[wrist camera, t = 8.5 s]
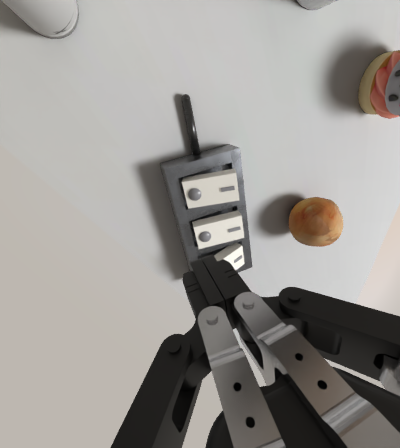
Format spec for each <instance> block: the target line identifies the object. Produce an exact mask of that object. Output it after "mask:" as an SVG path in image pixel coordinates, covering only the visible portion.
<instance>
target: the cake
mask: <svg viewBox="0 0 400 448" xmlns="http://www.w3.org/2000/svg"><path fill="white" fill-rule="evenodd" d="M358 100H359V104H360V107H361V108H362V110H363V111H364V112H366V113H368V114H378V115H380V116H381V117H385V118H388V119H390V118H395V117H399V116H400V50H398V51H392V52H387V53H384V54H382V55H379V56H378V57H377V58H375V59H374V60H373V61H372V62H371V63H370V65H369V66H368V68H367V69H366V70H365V72H364V75H363V77H362V79H361V82H360V86H359V90H358Z"/></svg>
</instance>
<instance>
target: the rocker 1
mask: <svg viewBox="0 0 400 448" xmlns="http://www.w3.org/2000/svg"><path fill="white" fill-rule="evenodd" d="M182 185H183V189H184V193H185V197H186V202H187V206H188V209H189V208H195V207H202V206H208V205H214V204H220V203H227V202H233V201H239V192H238V183H237V175H236V170H235V169H229V170H224V171H218V172H212V173H207V174H201V175H195V176H190V177H184V178H183V180H182Z"/></svg>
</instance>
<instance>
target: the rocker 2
mask: <svg viewBox="0 0 400 448" xmlns="http://www.w3.org/2000/svg"><path fill="white" fill-rule="evenodd" d="M214 257H215V258H216V260H217V261H220V260H222V259H224V260H226V261H228V262H230V263H231V265H232V266H233V267H234V269H235V270H237V269H238V268H240V267H241V266H242V265H244V264H245V263H244V255H243V247H242V245H240V244H238V243H234V244H231V245H229V246H228V247H226V248H225V249H223V250H222V251H220V252H219V253H217V254H216V255H214Z"/></svg>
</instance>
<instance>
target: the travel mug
mask: <svg viewBox="0 0 400 448" xmlns="http://www.w3.org/2000/svg"><path fill="white" fill-rule="evenodd" d="M1 1H2V2H3V3H5V4H6V5H7V6H8V7H9V8H10V9H11V10H12V11H13V12H14V13H16V14H17V15H18V16H19V17H20V18H21V19H22V20H23V21H24V22H25V23H26V24H28V25H29V26H30V27H31V28H32V29H33V30H34V31H36V32H38V33H39V34H41V35H43V36H45V37H48V38H53V39H60V38H64V37H66V36H68V35H70V34H71V33H72V32H73V31H74V29H75V28H76V26H77V23H78V17H79V9H78V4H77V0H1Z"/></svg>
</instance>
